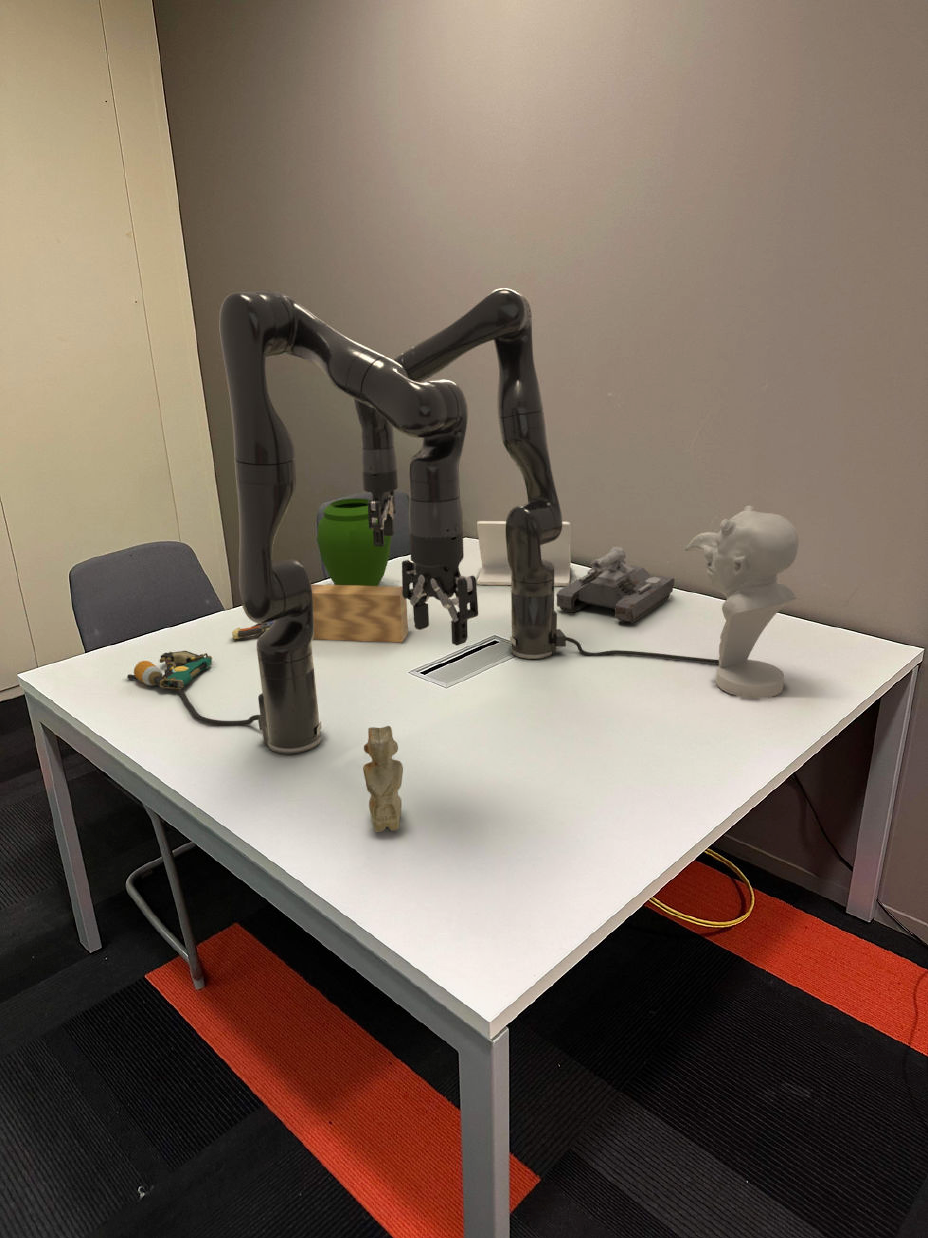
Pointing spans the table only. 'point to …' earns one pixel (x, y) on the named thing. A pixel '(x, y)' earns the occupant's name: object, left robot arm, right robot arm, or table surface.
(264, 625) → the toy gun
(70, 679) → the table surface
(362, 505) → the vase
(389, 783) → the sculpture
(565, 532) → the tablet stand
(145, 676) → the spray gun
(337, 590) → the box
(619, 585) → the toy
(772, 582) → the bust sculpture
